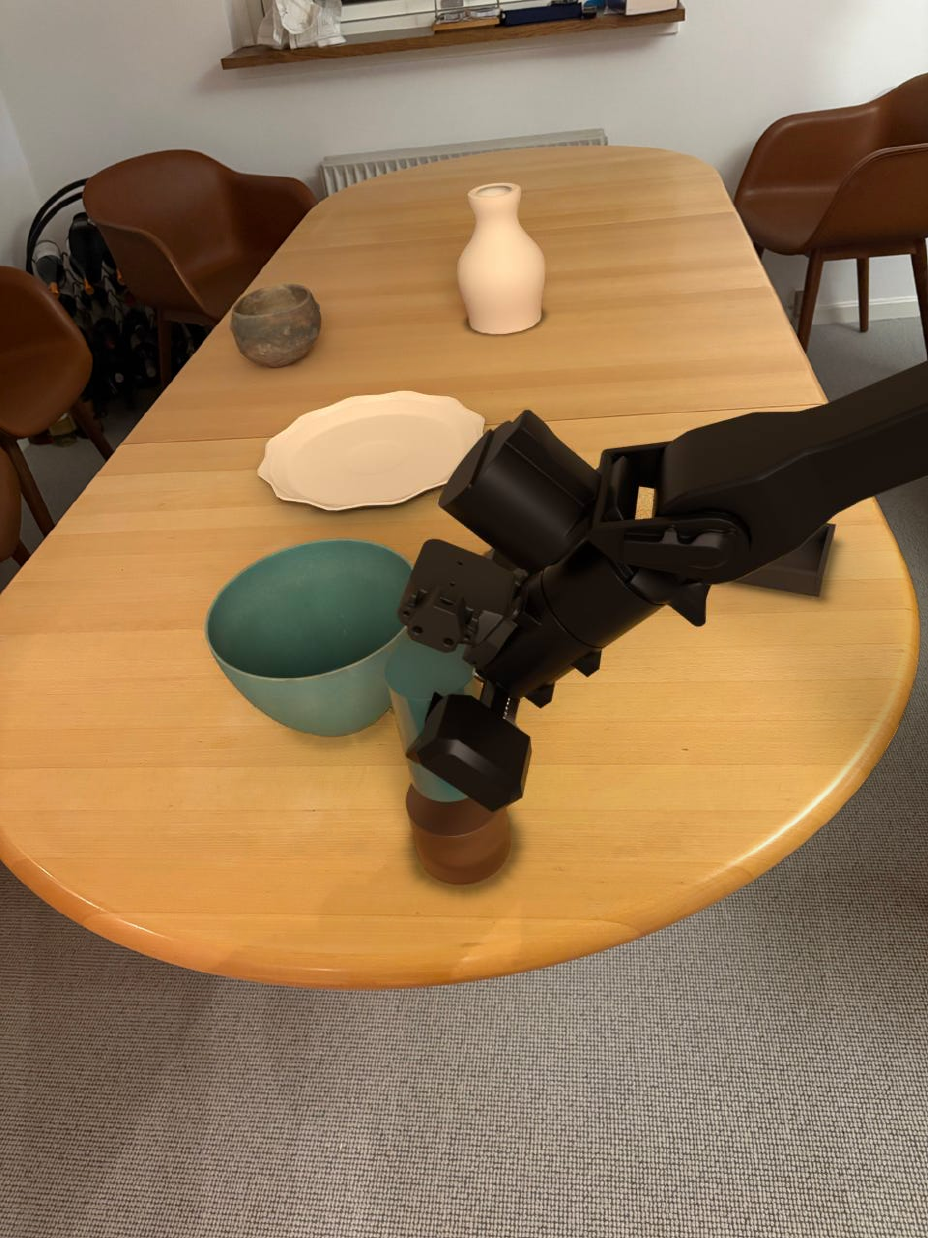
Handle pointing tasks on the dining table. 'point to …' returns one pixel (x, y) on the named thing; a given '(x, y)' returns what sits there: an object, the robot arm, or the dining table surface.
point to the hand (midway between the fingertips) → (423, 722)
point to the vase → (500, 264)
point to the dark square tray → (798, 566)
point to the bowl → (276, 324)
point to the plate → (370, 450)
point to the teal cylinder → (426, 702)
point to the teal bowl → (313, 633)
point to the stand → (458, 838)
